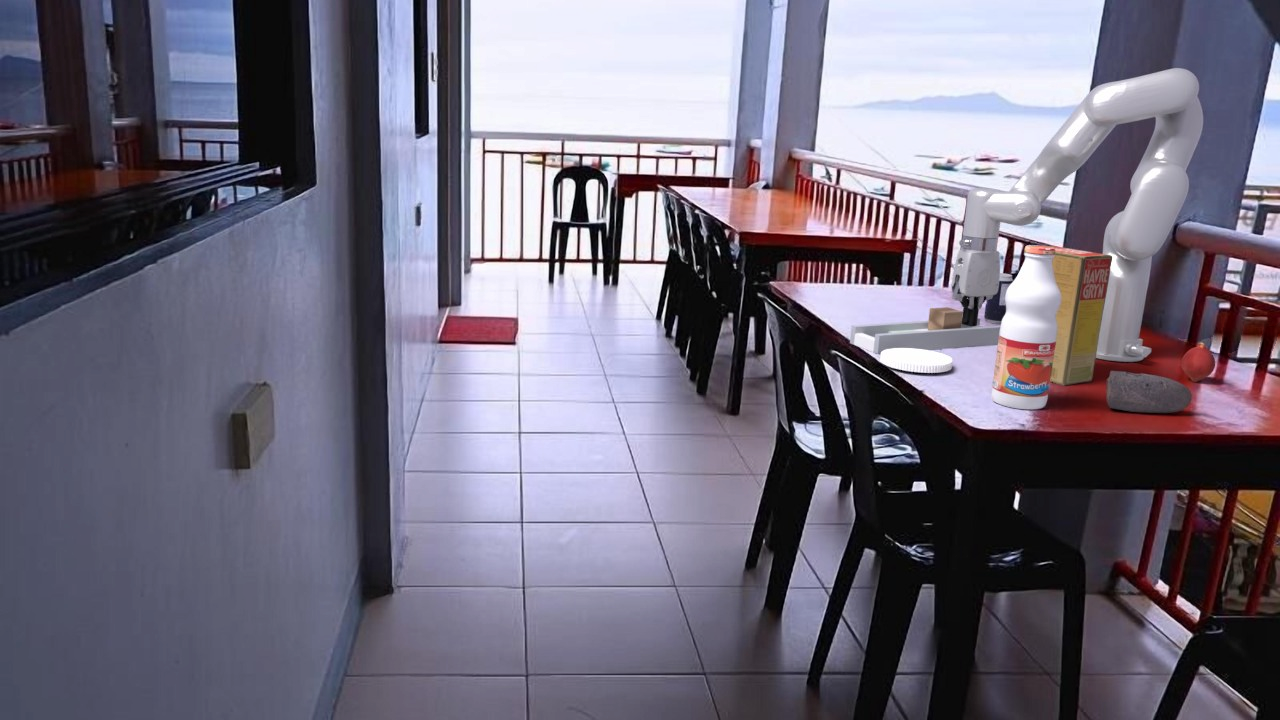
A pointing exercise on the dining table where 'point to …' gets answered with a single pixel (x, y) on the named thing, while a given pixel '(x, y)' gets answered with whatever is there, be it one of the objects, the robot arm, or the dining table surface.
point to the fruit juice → (1028, 333)
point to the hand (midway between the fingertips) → (969, 324)
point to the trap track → (921, 336)
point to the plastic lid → (916, 360)
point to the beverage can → (998, 301)
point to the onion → (1198, 362)
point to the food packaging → (1078, 312)
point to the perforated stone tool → (1146, 393)
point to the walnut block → (944, 318)
